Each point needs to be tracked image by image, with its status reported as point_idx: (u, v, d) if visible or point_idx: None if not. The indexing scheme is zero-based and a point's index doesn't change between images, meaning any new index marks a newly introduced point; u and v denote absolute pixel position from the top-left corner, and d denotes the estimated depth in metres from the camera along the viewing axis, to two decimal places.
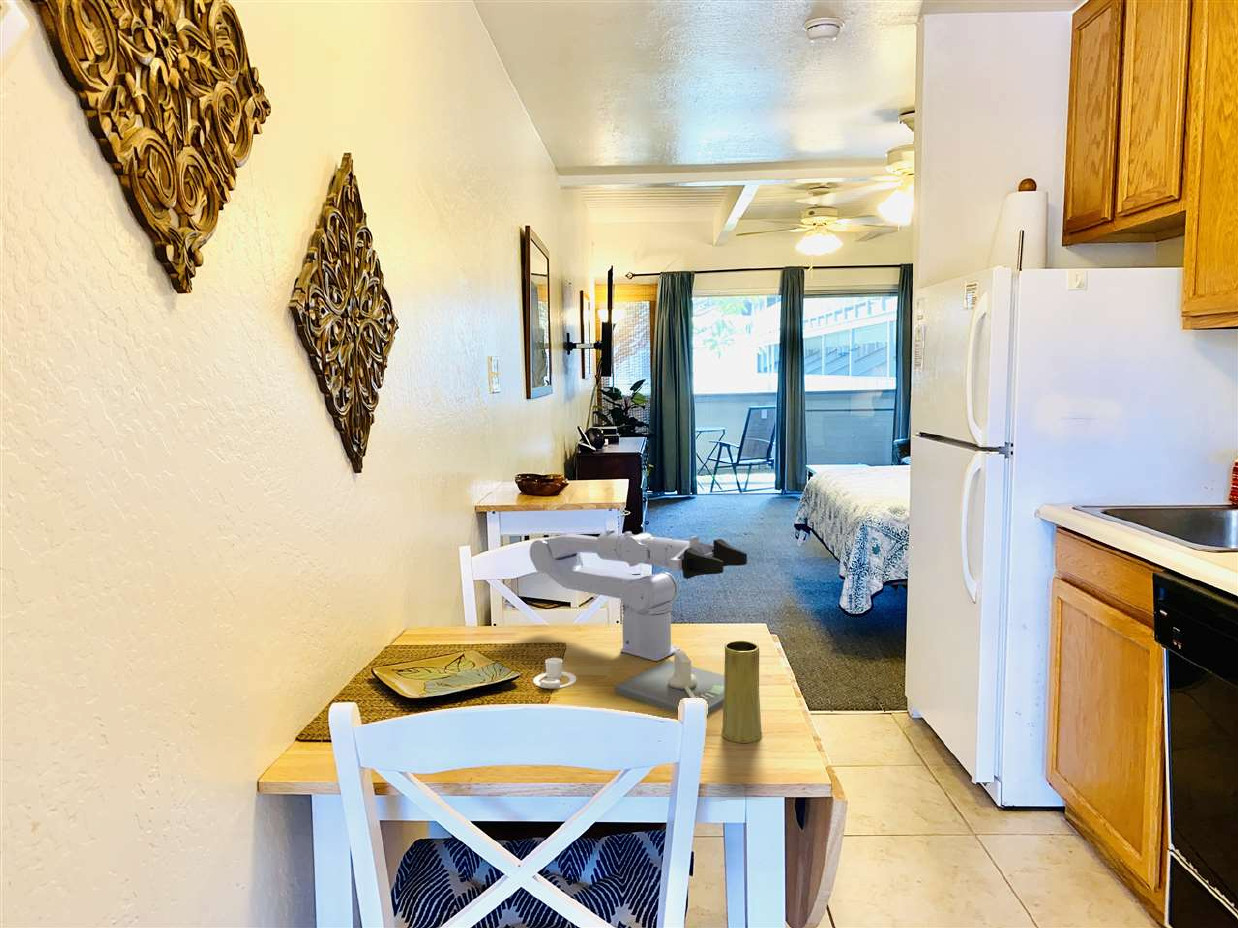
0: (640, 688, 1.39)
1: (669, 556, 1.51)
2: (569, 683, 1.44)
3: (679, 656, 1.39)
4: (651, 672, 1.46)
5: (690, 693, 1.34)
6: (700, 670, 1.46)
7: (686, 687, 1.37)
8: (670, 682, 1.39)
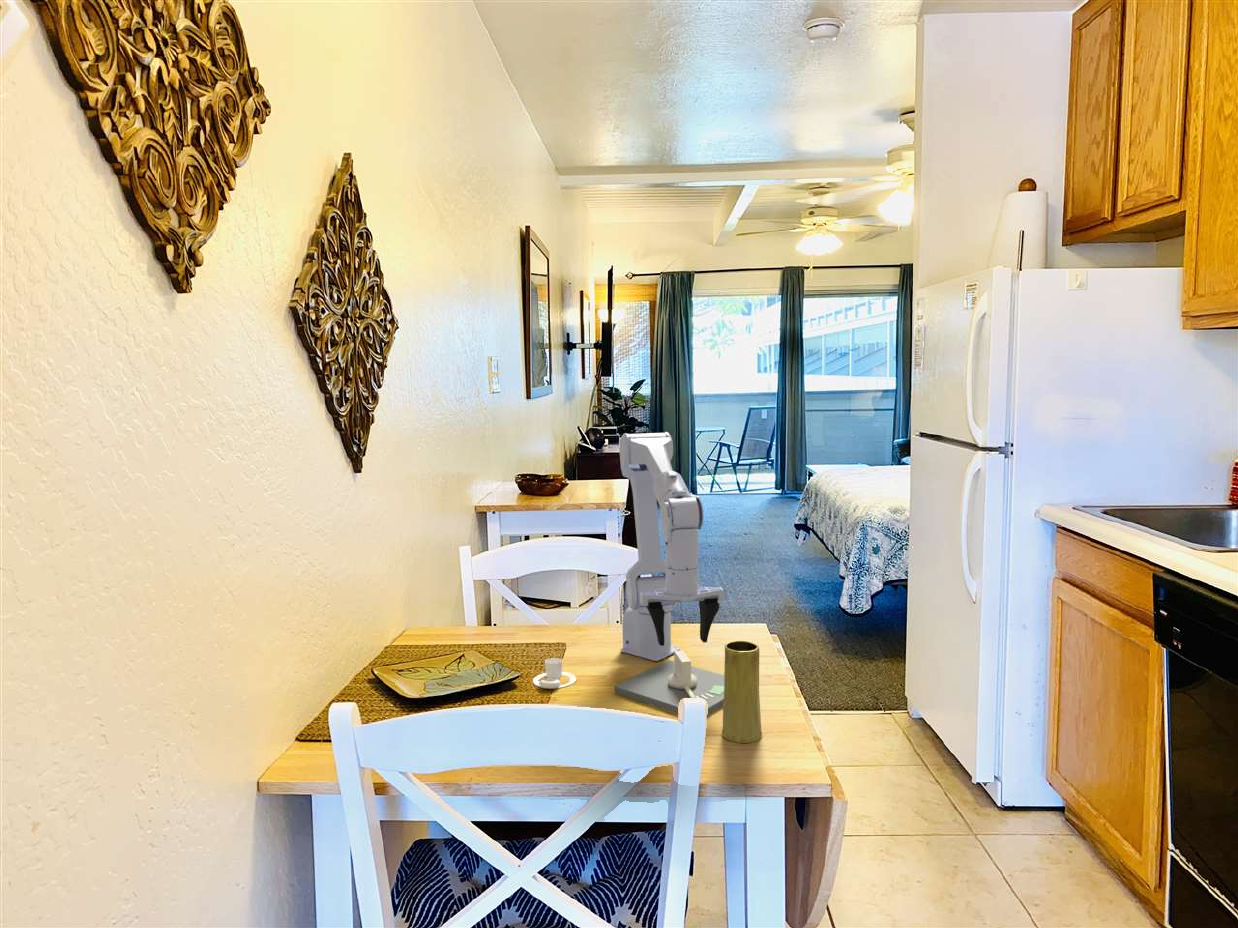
0: (640, 688, 1.39)
1: (666, 572, 1.37)
2: (569, 683, 1.44)
3: (679, 656, 1.39)
4: (651, 672, 1.46)
5: (690, 693, 1.34)
6: (700, 670, 1.46)
7: (686, 687, 1.37)
8: (670, 682, 1.39)
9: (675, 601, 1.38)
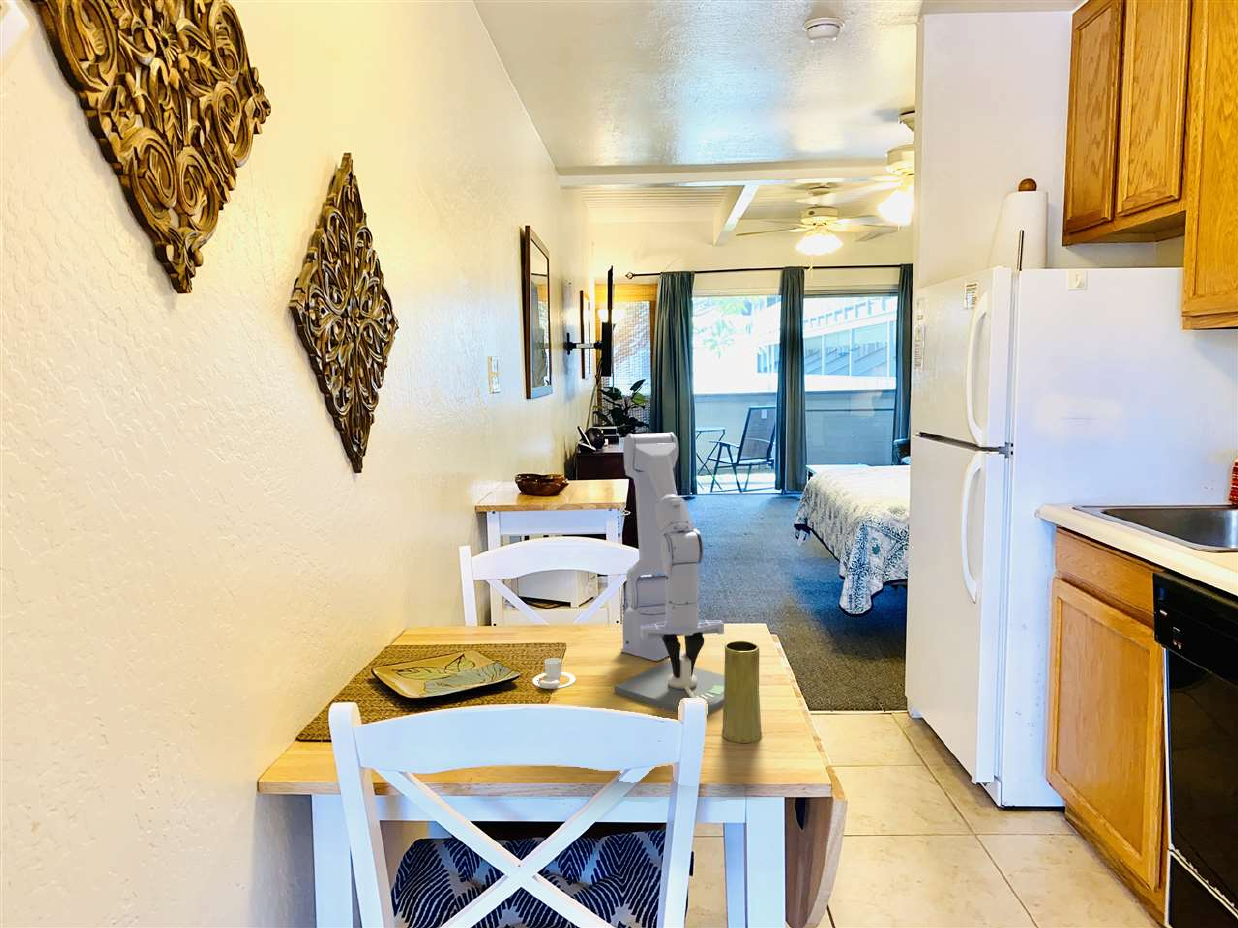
0: (640, 688, 1.39)
1: (666, 606, 1.38)
2: (568, 683, 1.44)
3: (679, 656, 1.39)
4: (651, 672, 1.46)
5: (690, 693, 1.34)
6: (700, 670, 1.46)
7: (686, 687, 1.37)
8: (670, 682, 1.39)
9: (676, 635, 1.38)
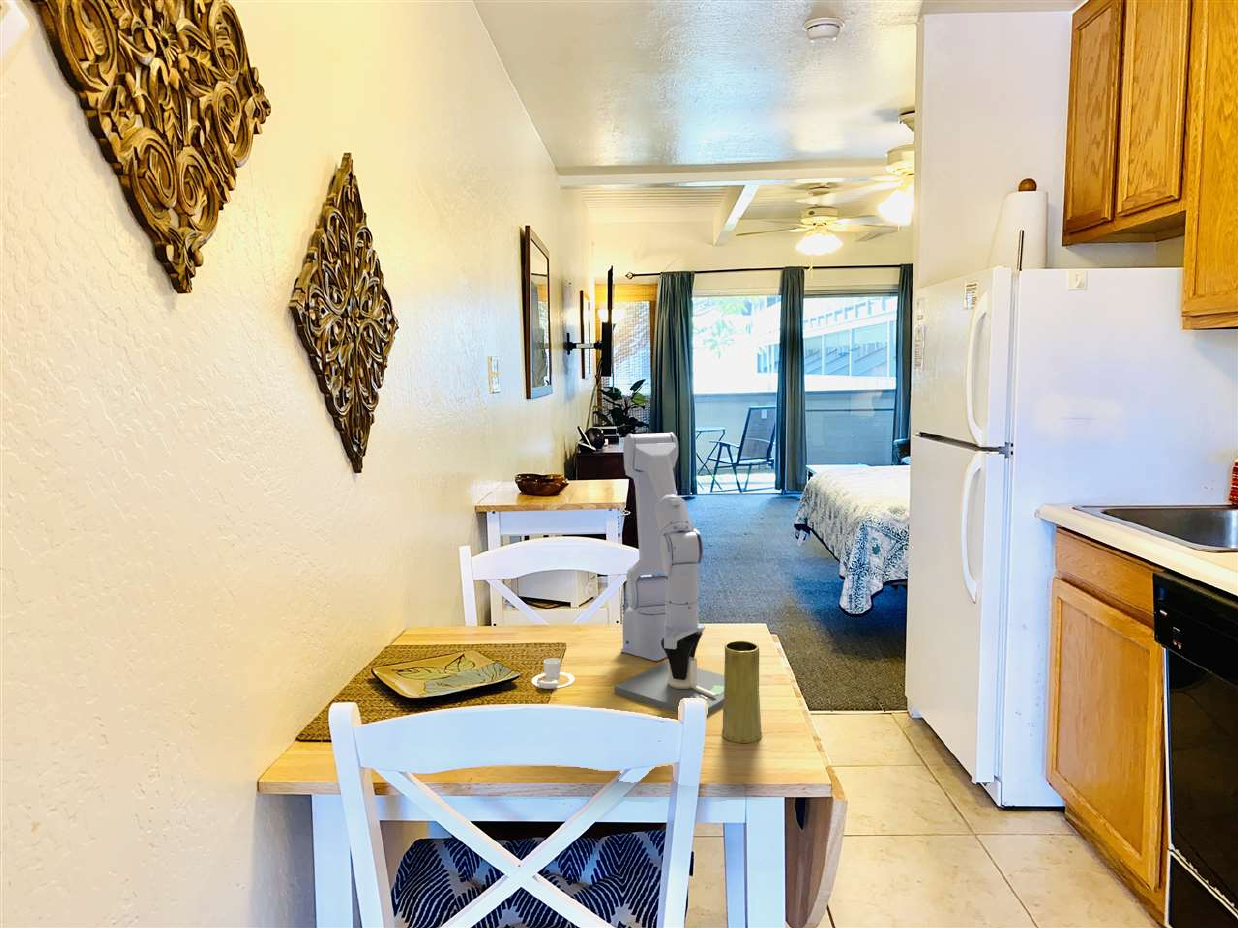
0: (640, 688, 1.39)
1: (678, 609, 1.36)
2: (567, 683, 1.44)
3: None
4: (651, 672, 1.46)
5: (705, 690, 1.36)
6: (700, 670, 1.46)
7: (694, 686, 1.38)
8: (675, 684, 1.38)
9: None
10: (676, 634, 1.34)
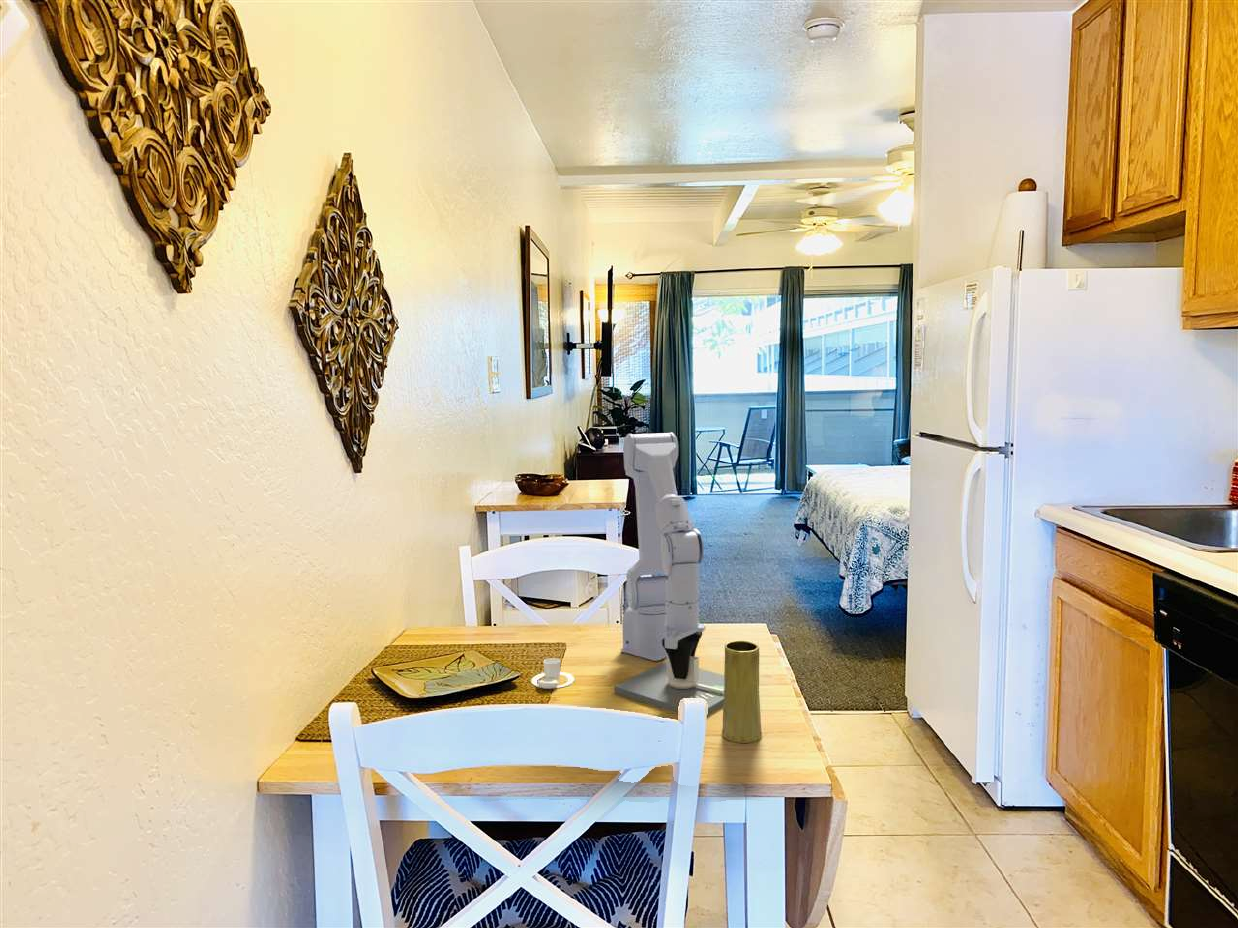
0: (640, 688, 1.39)
1: (678, 609, 1.36)
2: (567, 683, 1.44)
3: None
4: (651, 672, 1.46)
5: (711, 687, 1.37)
6: (700, 670, 1.46)
7: (697, 684, 1.38)
8: (679, 685, 1.38)
9: None
10: (677, 634, 1.34)
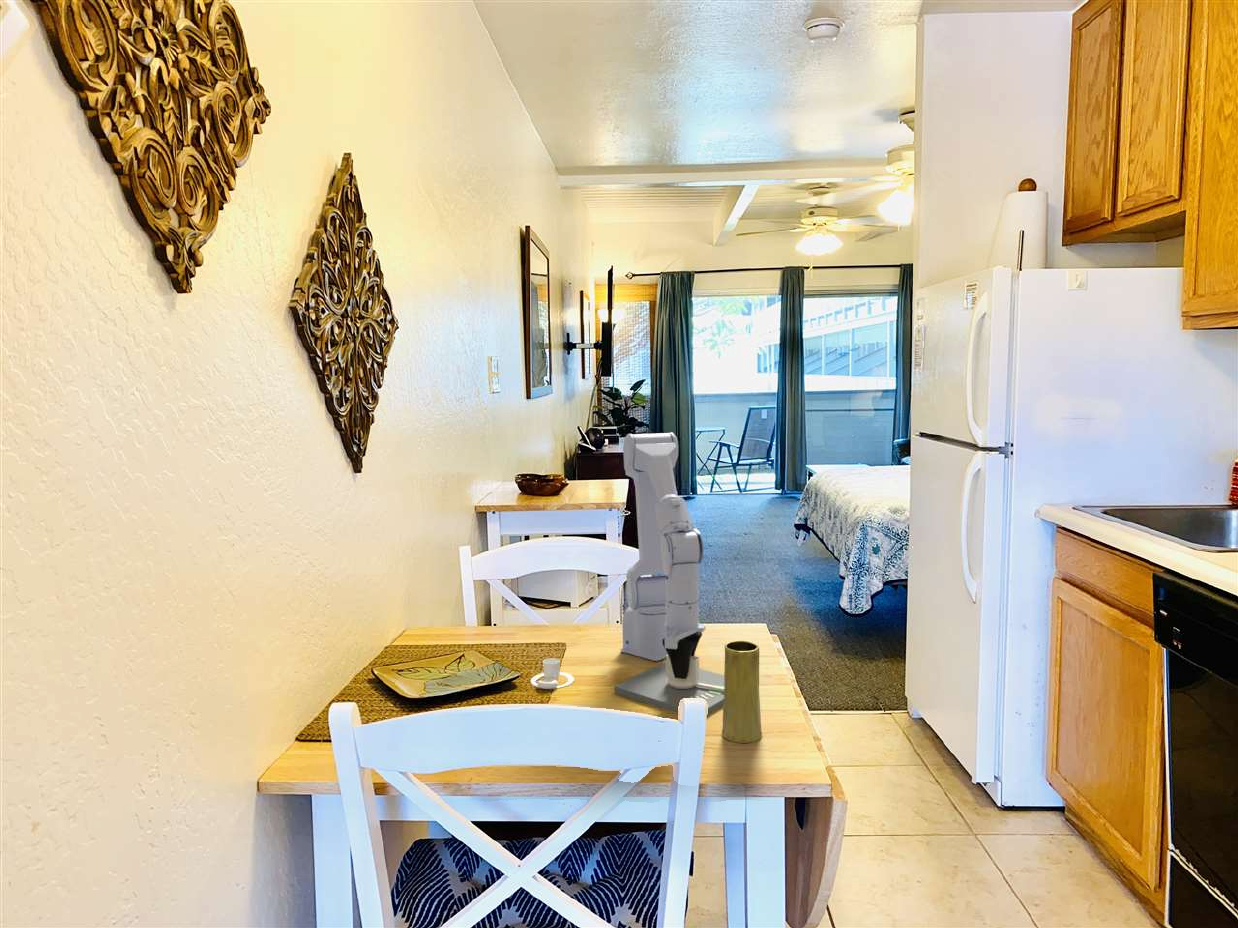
0: (640, 688, 1.39)
1: (678, 609, 1.36)
2: (566, 683, 1.44)
3: None
4: (651, 672, 1.46)
5: (713, 686, 1.37)
6: (700, 670, 1.46)
7: (698, 683, 1.38)
8: (681, 685, 1.38)
9: None
10: (677, 634, 1.34)
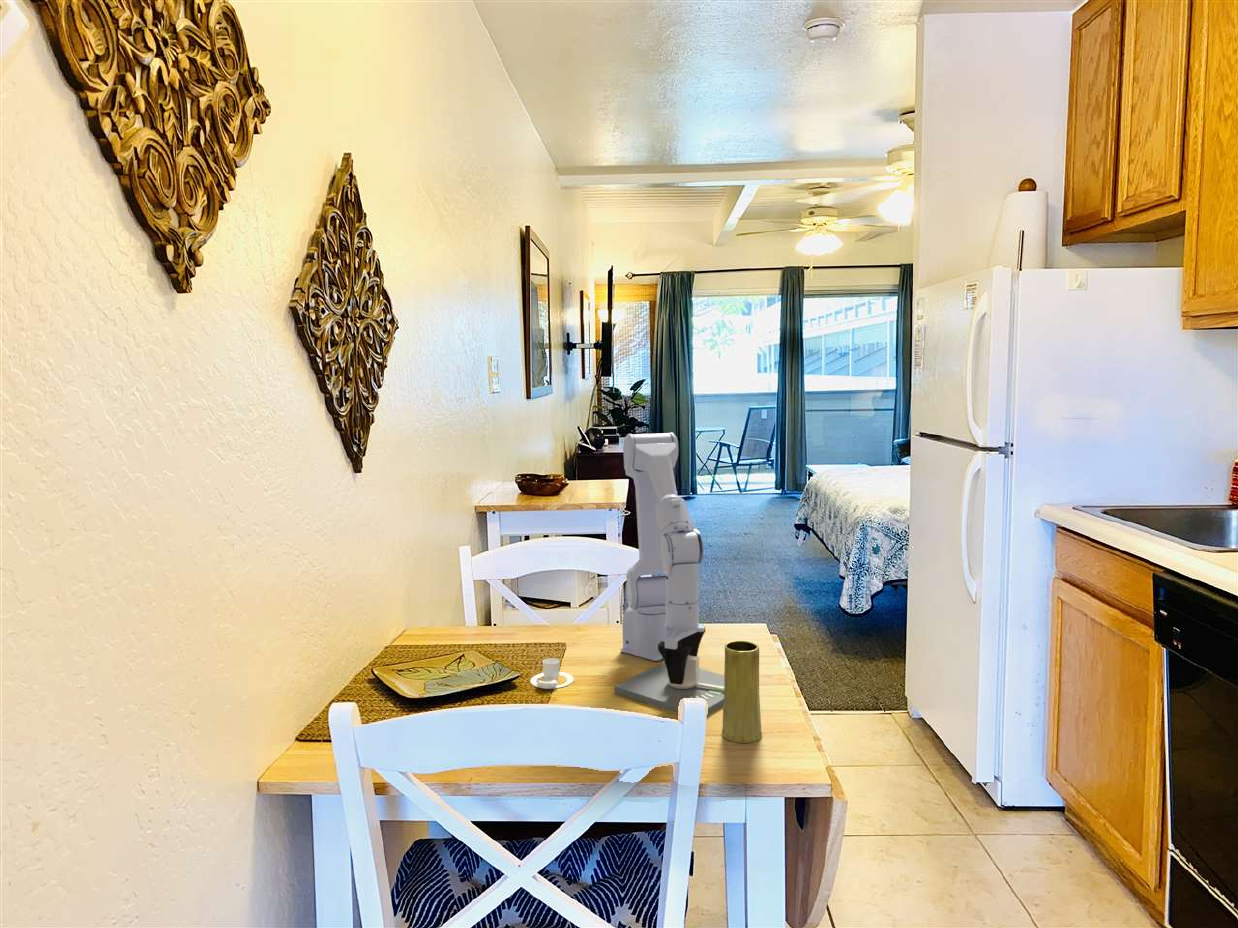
0: (640, 688, 1.39)
1: (678, 609, 1.36)
2: (566, 683, 1.44)
3: None
4: (651, 672, 1.46)
5: (713, 685, 1.37)
6: (700, 670, 1.46)
7: (698, 683, 1.39)
8: (681, 685, 1.38)
9: None
10: (677, 634, 1.34)
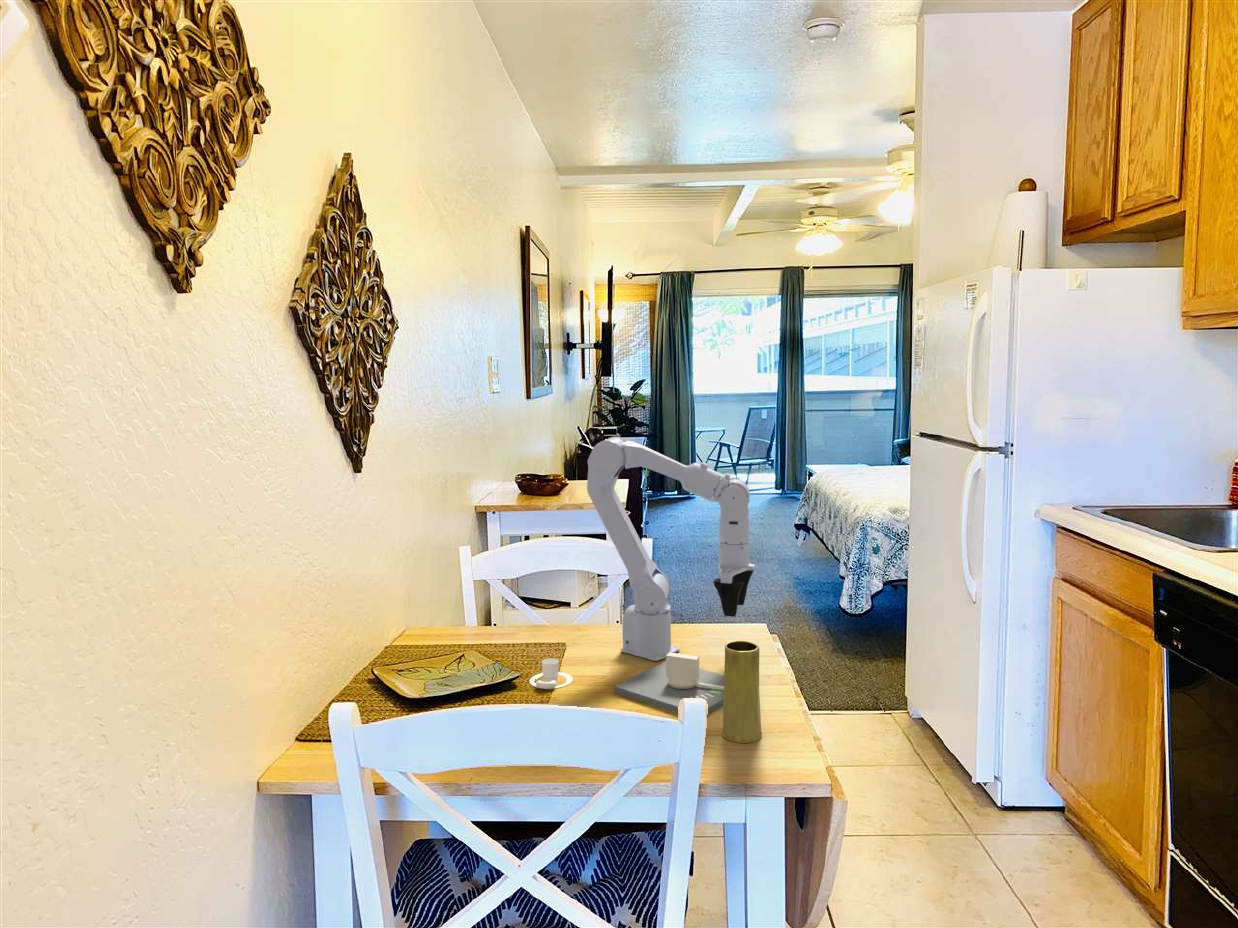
0: (640, 688, 1.39)
1: (732, 549, 1.51)
2: (565, 683, 1.44)
3: (681, 657, 1.39)
4: (651, 672, 1.46)
5: (713, 685, 1.38)
6: (700, 670, 1.46)
7: (698, 683, 1.39)
8: (681, 685, 1.38)
9: None
10: (731, 571, 1.50)
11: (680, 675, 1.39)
